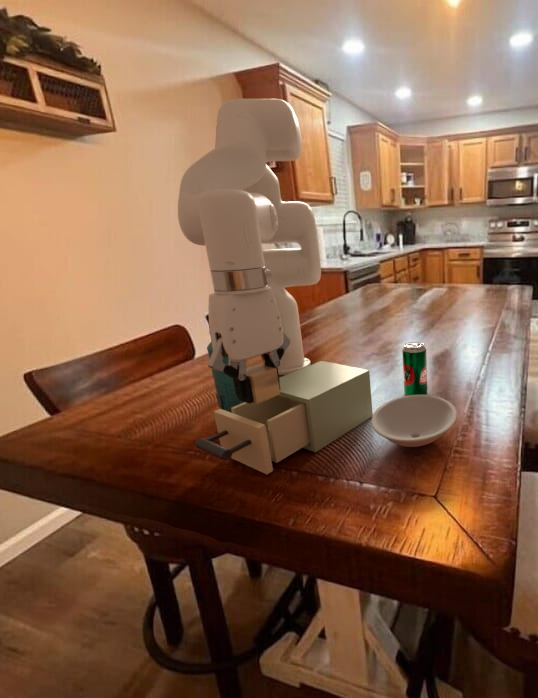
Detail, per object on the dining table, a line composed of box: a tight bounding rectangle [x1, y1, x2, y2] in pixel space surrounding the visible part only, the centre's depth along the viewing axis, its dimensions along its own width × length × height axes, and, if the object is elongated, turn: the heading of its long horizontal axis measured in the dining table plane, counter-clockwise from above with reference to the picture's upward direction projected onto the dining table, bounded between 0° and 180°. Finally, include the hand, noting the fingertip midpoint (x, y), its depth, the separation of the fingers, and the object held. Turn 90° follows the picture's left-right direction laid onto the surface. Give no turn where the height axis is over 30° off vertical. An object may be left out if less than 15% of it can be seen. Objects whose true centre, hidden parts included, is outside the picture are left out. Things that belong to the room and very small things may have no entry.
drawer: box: [194, 395, 311, 475], centre depth 67 cm, size 20×12×8 cm, turn 146°
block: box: [246, 363, 280, 404], centre depth 65 cm, size 4×4×4 cm
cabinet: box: [278, 360, 374, 453], centre depth 77 cm, size 16×13×10 cm
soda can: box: [401, 341, 428, 396], centre depth 87 cm, size 5×5×12 cm
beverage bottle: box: [206, 326, 244, 413], centre depth 80 cm, size 6×7×20 cm
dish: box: [371, 394, 458, 448], centre depth 70 cm, size 18×14×5 cm
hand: (259, 394), depth 65 cm, fingers closed on block, 4 cm apart
